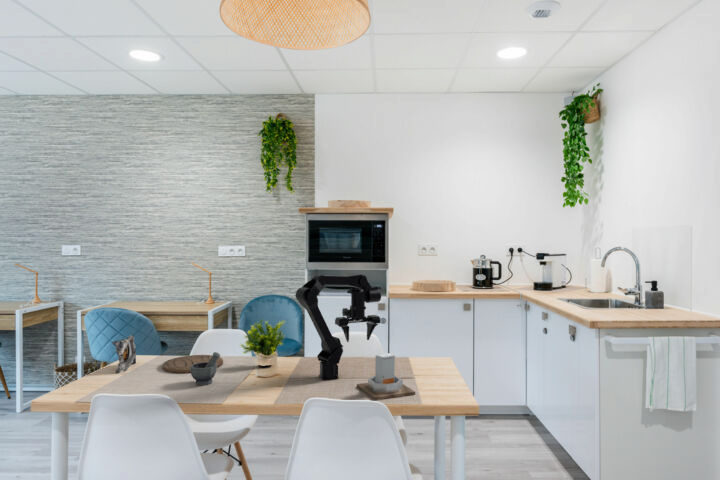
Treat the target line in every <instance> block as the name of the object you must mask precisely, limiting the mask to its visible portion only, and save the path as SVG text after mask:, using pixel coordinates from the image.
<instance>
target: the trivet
mask: <svg viewBox="0 0 720 480" xmlns="http://www.w3.org/2000/svg"><path fill="white" fill-rule="evenodd" d="M212 356H213V354H194V355H193V354H192V355H184V356H179V357H173V358H171V359H167V360H165V361H164V362H163V363H162V371H164V372H166V373H171V374H191V371H190V367H191V365H193V364H196V363H202V362H209V361H210V359H211V358H212ZM216 363H217V369H218V368H220V367H222V366H223V364H224V359H223V357H221V356H220V357H219V358H218V359H217V361H216Z"/></svg>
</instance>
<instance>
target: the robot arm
mask: <svg viewBox="0 0 720 480" xmlns="http://www.w3.org/2000/svg"><path fill="white" fill-rule="evenodd" d="M325 285H326V286H328V285H329V286H348V287H350V288H349V289H348V290H347V291H346V293H347V294H350V297H351V298H350V305H349V309H348V308H347V307H344V308H342V310H341V311H342V312H341V313H342V314H341V315H342V317H341V316H337V317H335V319H334V325H337V326H338V327H340V328H341V329H342V332H343V334H344V337H345V340H346V342H347V343H349V342H350V341H349V340H350V326H349V324H354V323H366V327H367V328H366V340H367V341H370V338H371V337H372V334H373V333H374V329H376V326H378V325H379V324H381V320H382V319H381V317H380V316H379V315H377V314H369V315H367V316H366V310H367V307H366V304H369V303H371V304H372V303H379V302H380V301H381V300H382V294H381V291H380V290H379V286H377V285H376V286H375V285H374V286H371V284H370V282H369V281H368V277H367V276H366V275H365V274H363V273H362V274H361V273H349V274H346V275H324V274H315V275H314V276H313V277H312V279H310V280H308V281H307V282H306V283H304V284H303V285H302V286H300V287H299V288H297V290H296V292H295V295H294V296H295V299H296V300H297V302H299V304H300V305H301V306H302V307H303V309H305V310H306V312H307V313H308V316H309V318H310V320H311V322H312V324H313V326H314V328H315V329H316V332H317V335H318V337H319V338H320V340H321V341H320V343H321V344H320V346H321V351H320V352H319V353H318V354H317V356H316V358H317V360H318V361H319V374H318V377H319V378H321V380H322V381H331V380H336V379H337V380H338V379H339V364H340V360H341V359H342V356H343V353H344V349H343V347H344V345H343V344H342V343H341V339H340V338H339V337H336V336H333V334H332V333H331V330H330V329H329V326H328V325H327V322H326V320H325V318H324V316H323V314H322V312H321V310H320V308H319V298H318V296H319V294H320V293H321V292H322V289H323V287H324V286H325Z"/></svg>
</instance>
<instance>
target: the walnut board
mask: <svg viewBox="0 0 720 480" xmlns="http://www.w3.org/2000/svg"><path fill="white" fill-rule="evenodd" d="M356 388H358V389H359V390H360V391H361V392H363V393H364V394H366V395H367V396H369V397H370V398H371V399H373V400H374V401H380V400H387V399H393V398H400V397H401V398H402V397H407V396H412V395H413V396H414V395H416V391H415V390H413V389H412V388H410V387H409V386H406V385H405V384H403V386H402V389H401V390H400V391H399V392H393V393H380V392H373V391H372V390H371V389H369V388H368V382H363V383H356Z"/></svg>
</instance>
